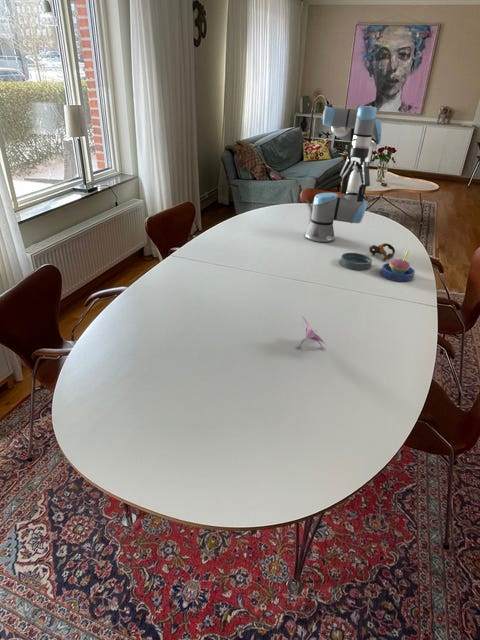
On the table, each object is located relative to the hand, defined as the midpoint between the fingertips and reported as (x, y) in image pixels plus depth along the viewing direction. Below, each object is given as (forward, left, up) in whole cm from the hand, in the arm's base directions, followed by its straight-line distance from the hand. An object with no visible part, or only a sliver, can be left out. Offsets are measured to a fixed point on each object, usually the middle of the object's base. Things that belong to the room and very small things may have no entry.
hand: (351, 197), depth 193 cm
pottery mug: (+4, +20, -29) cm, 35 cm away
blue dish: (+24, +15, -29) cm, 40 cm away
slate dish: (+9, +3, -29) cm, 30 cm away
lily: (+66, -50, -29) cm, 88 cm away
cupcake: (+24, +15, -29) cm, 40 cm away
